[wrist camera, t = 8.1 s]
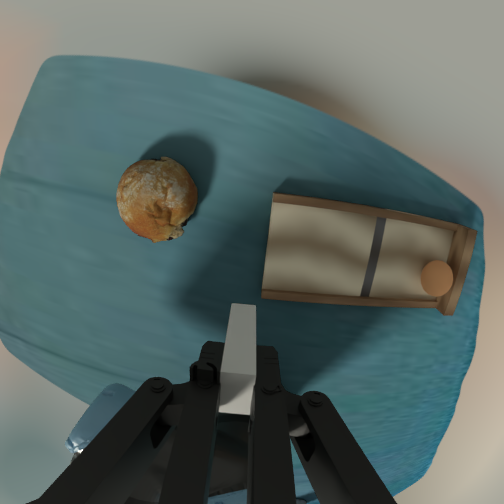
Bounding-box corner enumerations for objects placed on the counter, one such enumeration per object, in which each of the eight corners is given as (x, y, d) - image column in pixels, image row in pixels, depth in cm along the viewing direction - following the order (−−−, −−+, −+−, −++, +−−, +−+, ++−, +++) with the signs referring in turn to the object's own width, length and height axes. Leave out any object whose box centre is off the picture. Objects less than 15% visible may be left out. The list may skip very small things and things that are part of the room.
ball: (411, 287, 36) (437, 288, 35) (426, 302, 31) (453, 302, 30) (419, 254, 34) (445, 256, 34) (435, 266, 29) (463, 268, 29)
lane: (438, 302, 37) (452, 315, 33) (261, 291, 37) (261, 307, 33) (459, 224, 34) (477, 231, 29) (273, 192, 33) (275, 195, 29)
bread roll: (202, 167, 36) (188, 137, 28) (203, 243, 35) (185, 228, 27) (135, 176, 36) (109, 151, 29) (131, 248, 35) (100, 236, 27)
